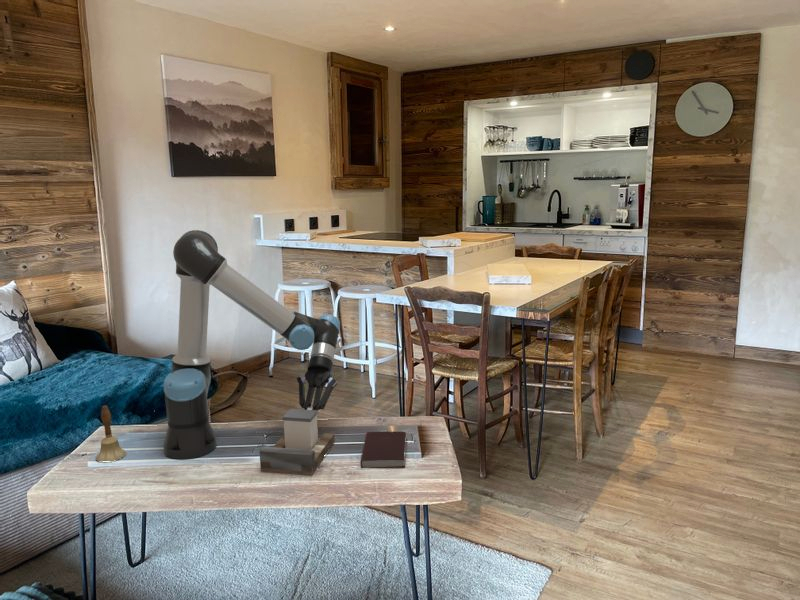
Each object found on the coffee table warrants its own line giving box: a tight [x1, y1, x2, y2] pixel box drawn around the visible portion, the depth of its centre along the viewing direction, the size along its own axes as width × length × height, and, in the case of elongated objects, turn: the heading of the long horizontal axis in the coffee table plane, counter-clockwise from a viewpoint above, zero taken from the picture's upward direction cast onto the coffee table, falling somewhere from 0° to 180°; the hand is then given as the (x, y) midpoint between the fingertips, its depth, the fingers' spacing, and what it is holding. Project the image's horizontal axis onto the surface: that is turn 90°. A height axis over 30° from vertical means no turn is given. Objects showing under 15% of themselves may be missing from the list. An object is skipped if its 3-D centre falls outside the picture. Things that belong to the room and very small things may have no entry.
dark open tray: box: [259, 432, 335, 476], centre depth 180 cm, size 21×15×6 cm
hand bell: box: [95, 405, 127, 462], centre depth 181 cm, size 8×8×16 cm
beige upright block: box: [282, 408, 319, 450], centre depth 182 cm, size 6×8×11 cm
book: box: [359, 431, 407, 469], centre depth 182 cm, size 12×19×3 cm, turn 178°
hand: (306, 429), depth 186 cm, fingers closed
